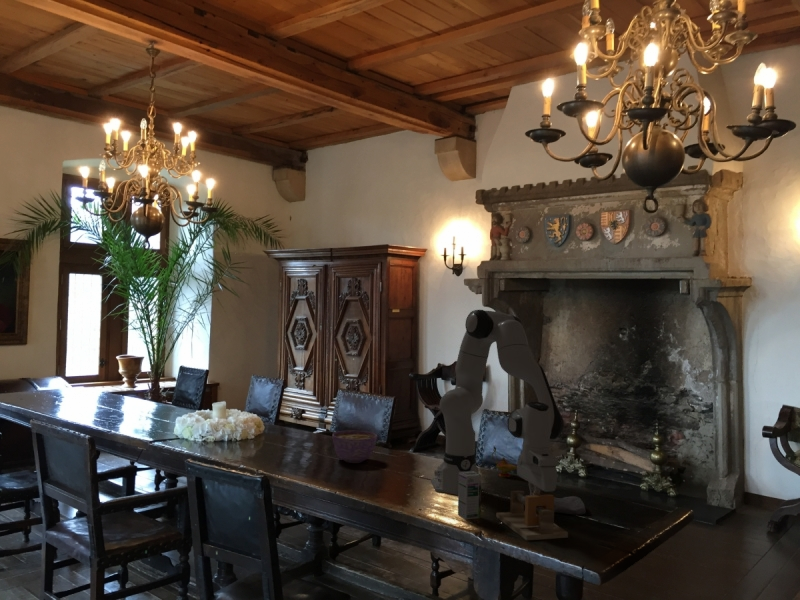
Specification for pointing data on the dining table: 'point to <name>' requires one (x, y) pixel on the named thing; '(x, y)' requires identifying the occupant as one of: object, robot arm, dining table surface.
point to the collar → (531, 504)
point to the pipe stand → (543, 531)
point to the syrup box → (469, 495)
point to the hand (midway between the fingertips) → (534, 497)
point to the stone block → (569, 505)
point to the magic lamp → (504, 466)
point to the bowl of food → (354, 445)
